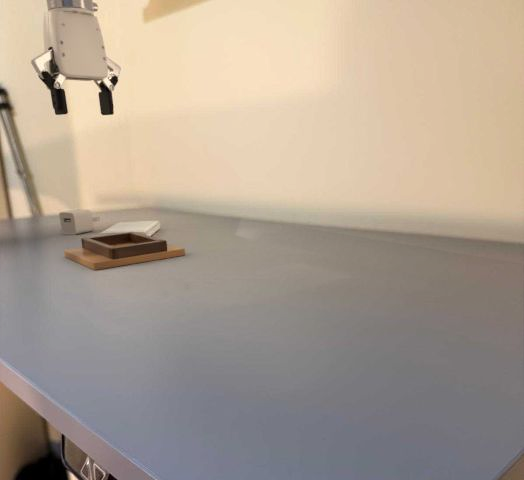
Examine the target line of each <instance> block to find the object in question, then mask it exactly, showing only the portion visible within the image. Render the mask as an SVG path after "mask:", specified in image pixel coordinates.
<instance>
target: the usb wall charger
mask: <svg viewBox="0 0 524 480" xmlns="http://www.w3.org/2000/svg"><path fill="white" fill-rule="evenodd" d="M58 215H59V223H60V229H61V232H62V234H64V235H71V236H73V235H74V236H76V235H79V234H85V233H90V232H93V231H94V230H95V227H94V222H99V221H100V220H101V219H100V216H96V217H95V216H94V217H93V212H92V211H91V210H90V209H81V208H80V209H73V210H67V211H60V212H59V213H58Z"/></svg>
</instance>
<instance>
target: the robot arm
mask: <svg viewBox="0 0 524 480" xmlns="http://www.w3.org/2000/svg"><path fill="white" fill-rule="evenodd" d="M46 6H47V12H44V13H43V22H42V23H43V25H42V26H43V27H42V28H43V29H42V30H43V33H42V34H43V37H42V38H43V50H44V52H42V53H41V54H38V55H37V56H36V57H34V58H33V59H31V61H30V63H31V65H32V67H33V69H34V71H35V72H36V74H37V76H38V78H39V80H40V81H41V82H42V83H43V84H44V85H45V86H46V88H47V90H49V93H50V98H51V104H52V108H53V110H54V114H55V115H56V116H62V115H68V113H69V110H68V103H67V96H66V91H65V88H62V86H63V84H64V82H65V81H83V82H88V81H89V82H91V81H93V82H94V84H95V85H96V86H97V87H98V89H99V90H100V91H99V92H98V99H99V100H98V101H99V107H100V110H99V111H100V114H101V115H102V116H112V115H114V113H115V111H114V101H113V100H114V99H113V92H114V91H115V87H116V85H117V84H118V83H119V77H120V74H121V69H122V68H121V66H120V65H119V64H117V63H116V62H114V61H113V60H112V59H111V58H109V57H107V52H106V48H105V42H104V37H103V33H102V29H101V27H100V22H99V20H98V17H97V16H95V12H96V13H97V12H98V10H99V6H98V3H97V2H94V1H93V0H46ZM108 74H109V76H108Z"/></svg>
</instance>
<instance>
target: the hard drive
mask: <svg viewBox="0 0 524 480" xmlns="http://www.w3.org/2000/svg"><path fill="white" fill-rule="evenodd" d="M160 229H161V222H160V221H159V220H141V221H140V220H139V221H138V220H136V221H135V220H134V221H119V222H117V223H115V224H113V225H112V226H110V227H108V228H107V229H105V230H103V231H101V232H100V233H99V234H98V236H102V235H110V234H118V233H125V232H136V233H140V234H144V235H147V236H151V237H152V235H154V234H155V233H156V232H157V231H159V230H160Z"/></svg>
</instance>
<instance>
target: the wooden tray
mask: <svg viewBox="0 0 524 480" xmlns="http://www.w3.org/2000/svg"><path fill="white" fill-rule="evenodd" d="M80 242H81V247H79V248H72V249H71V248H70V249H65V250H63V253H64V258H67V259H69V260H71V261H74V262H76V263H77V264H80V265H83V266H85V267H87V268H89V269H91V270H94V271H100V270H105V269H111V268H115V267H116V268H117V267H122V266H128V265H134V264H140V263H147V262H152V261H159V260H164V259H171V258H177V257H181V256H182V257H183V256H185V255H186V249H185V248H184V247H181V246H176V245H173V244H170V243H168V242H167V240H165V239H162V238H159V237H158V238H157V237H154V236H152V235H151V236H147V235H144V234H140V233H136V232H125V233H118V234H110V235H102V236H99V235H95V236H88V237H81V238H80Z"/></svg>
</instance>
